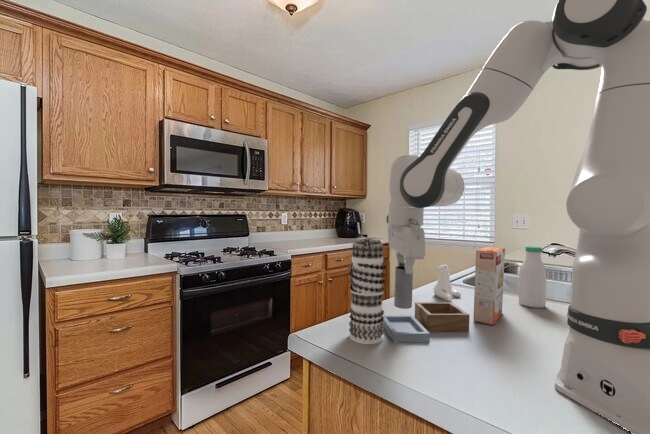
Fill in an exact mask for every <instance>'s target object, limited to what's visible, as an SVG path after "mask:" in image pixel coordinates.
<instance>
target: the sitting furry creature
mask: <svg viewBox="0 0 650 434" xmlns="http://www.w3.org/2000/svg"><path fill="white" fill-rule="evenodd" d="M435 268H436V271H437V272H438V274H439V277H438V278H437V281H436V284H435V285H434V286H433V292H434V295H435V296H436V298H439V297H440V298H439V299H441V298H442V299H441V300H444V301H446V302H451V301H452V300H453V299H454V298H458V297H462V292H461V291H459V290H456V289H452V283H451V278H450V276H451V271H450V268H449V267H448V264H446V263H445V264H441V265H439V266H436V267H435ZM453 297H454V298H453Z"/></svg>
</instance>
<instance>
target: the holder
mask: <svg viewBox="0 0 650 434" xmlns="http://www.w3.org/2000/svg"><path fill="white" fill-rule="evenodd" d="M414 317H415V318H416V319H417V320H418V322H419V323H420V324H421V325H422V326H423V327H424V328H425V329H426V330H427V331H428V332H429V333H434V332H437V333H441V332H443V333H444V332H448V333H449V332H457V333H458V332H463V333H464V332H470V314H469V313H467V312H466V311H465V310H463V309H462V308H460V307H459V306H457V305H456V304H454V303H453V302H451V301H446V302H443V301H442V302H441V301H439V302H438V301H437V302H436V301H435V302H433V301H431V302H424V301H423V302H415V303H414Z"/></svg>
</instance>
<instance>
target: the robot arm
mask: <svg viewBox="0 0 650 434" xmlns="http://www.w3.org/2000/svg"><path fill="white" fill-rule="evenodd" d="M647 11H648V7H647V5H646V2H645V1H644V0H558V1H557V3H556V5H555V8H554V11H553V15H552V20H549V21H545V22H543V21H540V20H524V21H521V22H519V23H517V24H516V25H515V26H513V27H511V29H510V30H509V31H508V33H507V34H506V35H505V36H504V37H503V38H502V40H501V41H500V42H499V44H498V45H497V46H496V48H495V49H494V50H493V51H492V53H491V55H490V56H489V57H488V59H487V61H486V62H485V64H484V65H483V67H482V69H481V71H480V72H479V74H478V75H477V77H476V78H475V80H474V82H473V83H472V85H471V86H470V88H469V89H468V90H467V92H466V94H465V95H464V96H463V97H462V98H461V99H460V101H459V102H458V103H457V104H456V105H455V106H454V108H453V109H452V110H451V112H450V113H449V114H448V116H447V117H446V119H445V120H444V121H443V123H442V125H441V126H440V128H439V129H438V131H437V132H436V134H435V135H433V138H432V139H431V140H430V142H429V143H428V145H427V147H426V148H425V149H424V150H423V152H422V153H421V154H407V155H403V156H400V157H398V158H396V159H395V160H394V161H393V163H392V164H391V169H390V174H389V188H388V189H389V190H388V191H389V195H390V199H389V200H390V202H389V204H388V213H387V215H386V217H385V218H386V219H385V220H386V224H387V233H388V234H387V238H388V239H387V240H388V247H389V249H390V250H392V251H394V252H395V256H396V261H397V266H404V272H405V273H406V274H412V270H413V271H414V268H413V267H414V264H415V261H416V260H423V259H424V258H425V256H426V238H425V237H426V235H425V230H424V228H423V227H421V226H424V213H425V211H424V209H425V208H430V207H447V206H449V205H453V204H455V203H456V202H458V201H459V200H460V199H461V197H462V196H463V194H464V191H465V183H464V179H463V176H462V175H461V174H460V173H459V172H458V171H456V170H454V169H453V168H451V166H452V165H453V163H454V162H455V161H456V159H457V158H458V156H459V155H460V154H461V152H462V151H463V150H464V148H465V147H466V145H467V143H468V142H469V141H470V139H472V138H473V136H474V135H476V134H477V133H478V132H479V131H481V130H482V129H484V128H486V127H490V126H492V125H495V124H500V123H504V122H506V121H507V120H509V119H511V118H512V117H513V116H514V114H516V112H517V111H519V109H520V108H521V107H522V106H523V105H524V104H525V102H526V101H527V99H528V98H529V96H530V95H531V93H532V92H533V91H534V89H535V87H536V86H537V84H538V83H539V81H540V80H541V78H542V77H543V75H544V74H545V73H546V72H547V71H548V70H549V69H550V68H551V67H552V68H554V69H555V70H573V71H574V70H575V71H589V70H595V69H598V68H600V71H601V72H600V81H599V86H598V90H597V93H596V99H595V103H594V109H593V112H592V118H591V123H590V127H589V132H588V135H587V136H588V137H587V140H586V142H585V143H586V144H585V146H584V150H583V151H582V154H581V157H580V160H579V162H578V165H577V167H576V172H575V174H574V177H573V181H572V184H571V186H570V187H571V188H570V191H569V193H568V196H567V198H566V205H565V206H566V212H567V215H568V218H570V219H569V220H571V222H572V223H573V224H574V225H575V226H576V227H577V228H578V229H579V232H578V239H577V244H576V251H575V254H574V258H573V259H574V260H573V263H572V267H571V268H572V271H571V273H572V274H571V295H570V296H571V299H570V305H568V309H567V312H566V317H567V325H568V326H569V331H568V334H567V337H566V340H565V343H564V347H563V352H562V358H561V363H560V364H561V365H560V368H559V371H558V374H557V379H556V380H555V383H554V389H555V390H556V391H558V392H559V393H562V394H563V395H565V396H566V397H568V398H569V399H572V400H573V401H575V402H576V403H578V404H580V405H581V406H583V407H585V408H587V409H588V410H590V411H592V412H594V413H595V412H596V413H595V414H597V413H598V414H597V415H599V416H600V415H601V416H600V417H602V416H603V417H602V418H604V417H605V418H607V419H609V420H611V421H613V422H615V423H617V424H619V425H620V426H622V427H624V428H626V429H627V430H629V431H630V432H632V433H634V434H650V20H646V19H644V17H645V15H646V13H647ZM397 266H396V267H397ZM605 418H604V419H605ZM607 419H606V420H607ZM609 420H608V421H609Z"/></svg>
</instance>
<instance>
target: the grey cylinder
mask: <svg viewBox="0 0 650 434" xmlns="http://www.w3.org/2000/svg"><path fill="white" fill-rule="evenodd" d="M394 269H395V272H394V296H393V297H394V303H393V306H394V307H395V308H398V309H405V310H407V309H408V310H409V309H412V306H413V288H414V286H413V284H414V283H413V282H414V269H413V270H412V274H406V273H405V272H404V266H395V268H394Z"/></svg>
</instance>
